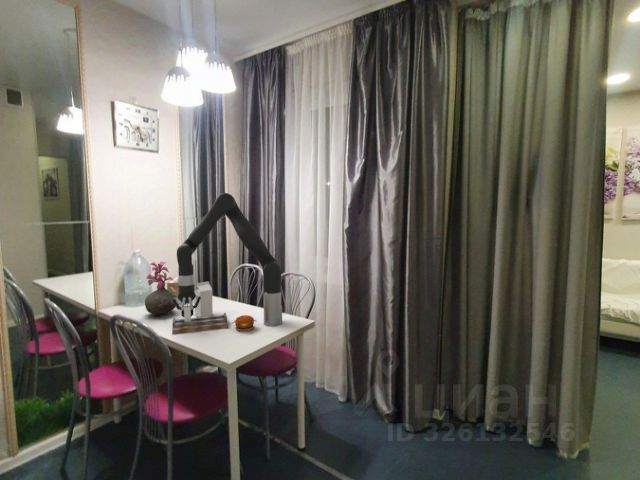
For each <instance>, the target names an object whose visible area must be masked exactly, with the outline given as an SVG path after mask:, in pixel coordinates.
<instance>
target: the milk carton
mask: <svg viewBox="0 0 640 480" xmlns="http://www.w3.org/2000/svg"><path fill="white" fill-rule="evenodd" d="M195 294H196V295H197V296H201V299H200V301H199V304H198V306H197V308H194V315H195V317H196V316H197V317H205V316H214V315H213V314H214V313H213V312H214V311H213V307H214V306H213V287H212V286H211V284H210V281H204V282H197V283H196V286H195ZM196 301H197V300H196V298H194V304H195V303H196Z"/></svg>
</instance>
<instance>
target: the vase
mask: <svg viewBox="0 0 640 480" xmlns="http://www.w3.org/2000/svg"><path fill="white" fill-rule="evenodd" d="M149 264H150V265H151V266H153V267H151V271H152V272H154V275H152V274H151V273H149V274H147V277H146V279H147V280H148V281H147V284H148V285H149V286H151V285H152V284H153V283H157V285H156V290H155V291H152V292H151V293H149V294H148V295H147V296H146V297H145V299H144V304H145V305H144V306H145V310H146V311H147V312H148V313H150V314H151V315H154V316H155V317H164V316H167V315H169V314H170V313H171V312H172V311H174V310H175V309H176V306H175V304H174V302H173V298H176V296H175V294H174V293H173V292H176V293H178V289H177V288H176V287H175V286H173V285H169V286H170V288H171V289H172V291H173V292H171V291H169V290H167V288H166V281H170V280H173V278H172V277H171V276H170V277H169V276H168V277H167V273H166V272H168V273H170V271H169V269H168V267H166V266H164V265H165V264H166V261H165V262H164V261H160V262H159V263H156V262H155V261H153V262H151V263H149ZM161 272H162V273H163V274H161ZM173 281H174V280H173Z"/></svg>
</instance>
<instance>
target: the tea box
mask: <svg viewBox="0 0 640 480" xmlns="http://www.w3.org/2000/svg"><path fill="white" fill-rule="evenodd" d="M178 277H179V276H178ZM178 277H176V276H174V277H173V278H172V279H173V280H174V281H173V280H168V282H166V289H167V290H169V291H171V292H173V291H172V289H171V288H170V286H169V285H173V286H175V287H176V288H177V289H178V293H176V292H173V293H174V294H175V296H176V297H178V295H179V287H178ZM178 304H179V306H182V302H181V301H180V300H179V299H178Z"/></svg>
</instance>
